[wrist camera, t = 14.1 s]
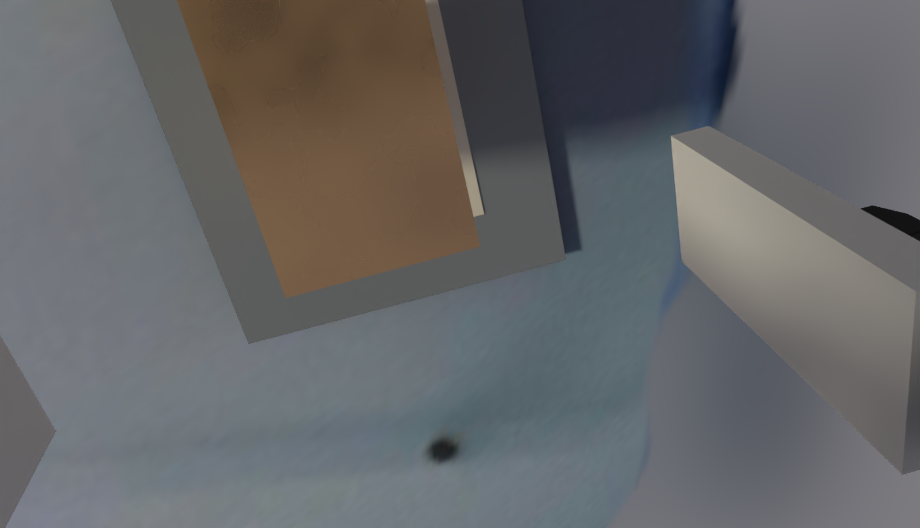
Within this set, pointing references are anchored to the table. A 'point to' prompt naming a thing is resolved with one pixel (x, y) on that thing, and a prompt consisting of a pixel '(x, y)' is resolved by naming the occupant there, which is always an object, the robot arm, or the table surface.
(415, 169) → the wooden l-shaped block
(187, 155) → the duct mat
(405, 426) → the table surface
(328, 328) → the table surface
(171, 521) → the table surface
